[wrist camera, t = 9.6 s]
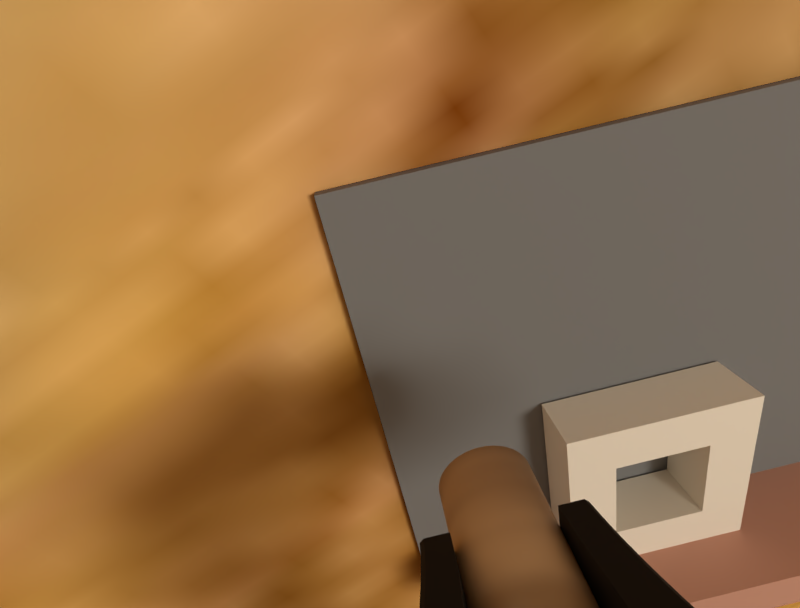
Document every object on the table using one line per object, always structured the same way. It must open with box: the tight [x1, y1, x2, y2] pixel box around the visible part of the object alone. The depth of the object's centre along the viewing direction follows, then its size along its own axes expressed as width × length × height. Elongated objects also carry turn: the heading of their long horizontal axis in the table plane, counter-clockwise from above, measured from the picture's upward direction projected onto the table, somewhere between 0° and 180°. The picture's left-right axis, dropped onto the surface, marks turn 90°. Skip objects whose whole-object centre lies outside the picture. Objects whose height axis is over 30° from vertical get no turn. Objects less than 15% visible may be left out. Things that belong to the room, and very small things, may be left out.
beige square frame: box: [542, 361, 765, 555], centre depth 21 cm, size 8×8×2 cm
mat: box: [314, 76, 800, 551], centre depth 21 cm, size 24×22×1 cm
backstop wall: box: [640, 462, 800, 608], centre depth 22 cm, size 2×20×5 cm, turn 102°
